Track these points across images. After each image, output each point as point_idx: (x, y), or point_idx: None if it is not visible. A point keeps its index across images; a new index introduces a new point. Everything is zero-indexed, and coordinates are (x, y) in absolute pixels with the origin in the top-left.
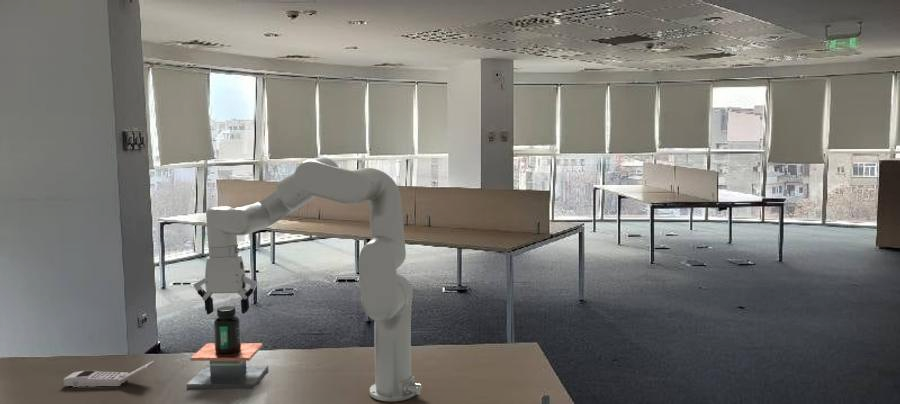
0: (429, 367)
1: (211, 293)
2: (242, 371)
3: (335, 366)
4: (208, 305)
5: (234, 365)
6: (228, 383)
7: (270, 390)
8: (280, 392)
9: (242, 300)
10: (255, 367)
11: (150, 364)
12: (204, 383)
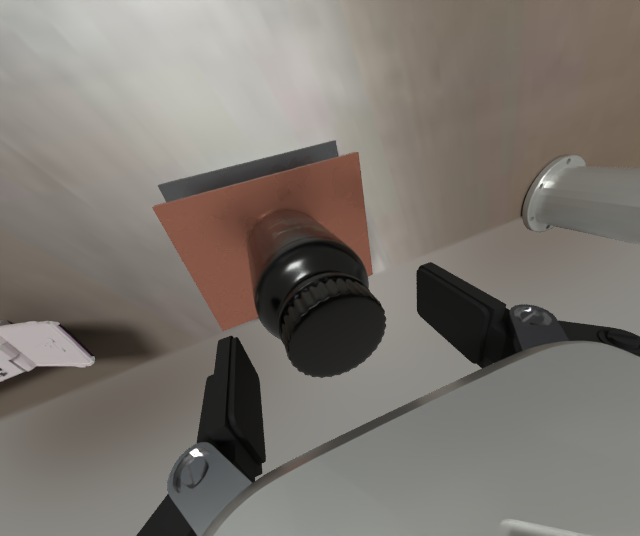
0: (628, 49)
1: (242, 490)
2: None
3: (473, 79)
4: (260, 428)
5: None
6: None
7: (382, 248)
8: (400, 249)
9: (483, 361)
10: (311, 163)
11: (77, 342)
12: None
